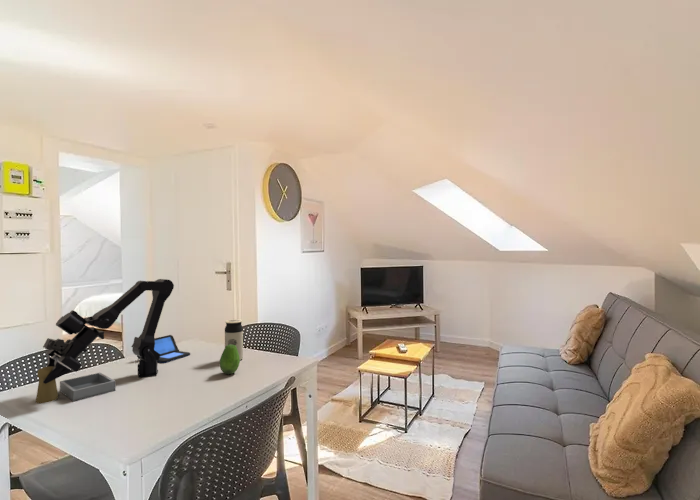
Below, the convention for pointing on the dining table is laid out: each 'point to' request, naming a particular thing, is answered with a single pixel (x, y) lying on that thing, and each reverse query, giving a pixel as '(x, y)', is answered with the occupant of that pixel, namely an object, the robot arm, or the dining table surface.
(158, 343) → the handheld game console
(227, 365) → the avocado
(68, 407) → the dining table surface
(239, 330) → the travel mug
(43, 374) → the cork
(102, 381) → the tray
